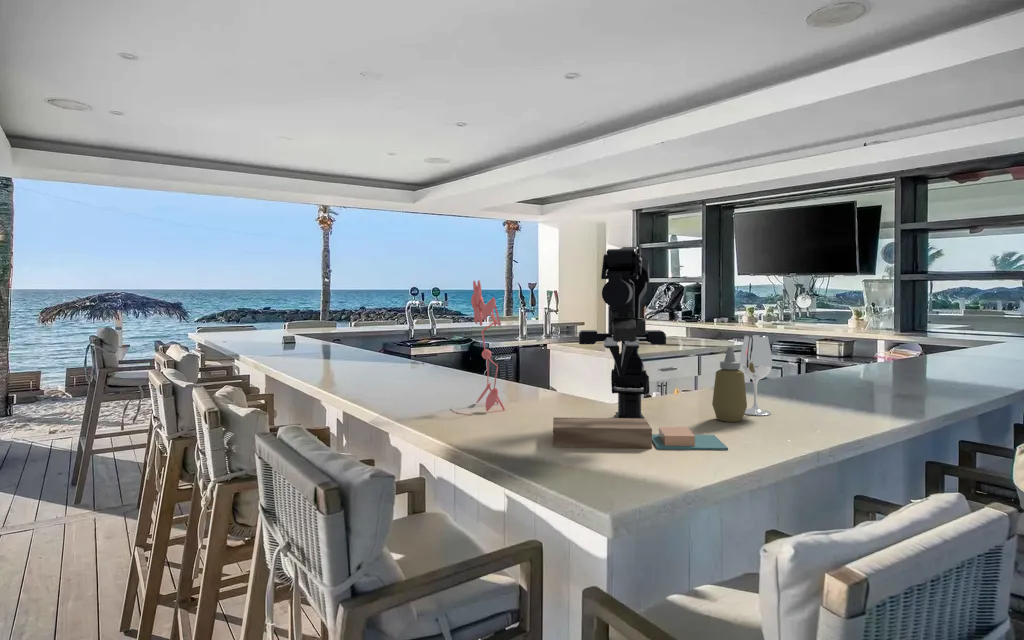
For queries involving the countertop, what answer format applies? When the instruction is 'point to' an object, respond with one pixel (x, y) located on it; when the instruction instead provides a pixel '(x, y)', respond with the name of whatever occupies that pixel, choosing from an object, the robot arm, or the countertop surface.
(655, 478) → the countertop surface
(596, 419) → the platform
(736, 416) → the squeeze bottle
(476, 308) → the figurine
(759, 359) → the wineglass
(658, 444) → the mat
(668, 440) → the tile
